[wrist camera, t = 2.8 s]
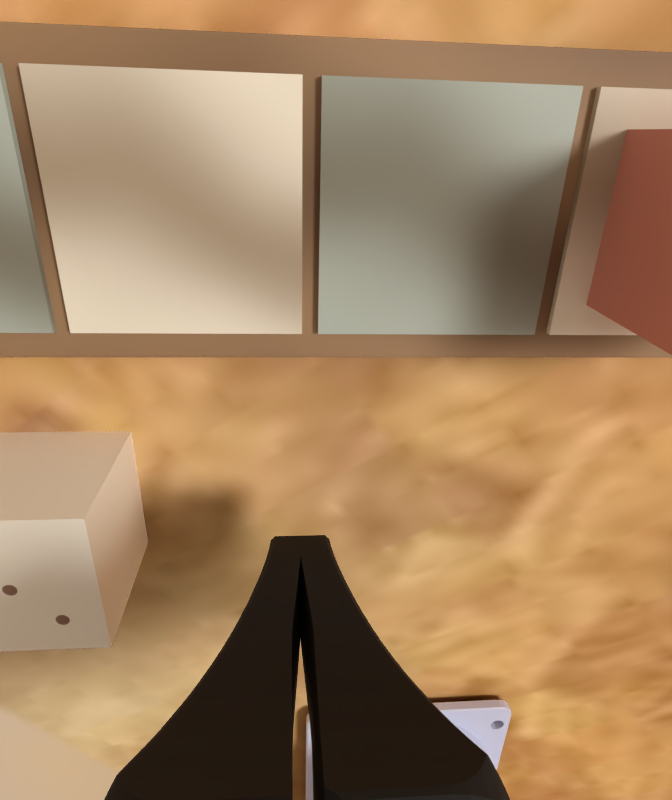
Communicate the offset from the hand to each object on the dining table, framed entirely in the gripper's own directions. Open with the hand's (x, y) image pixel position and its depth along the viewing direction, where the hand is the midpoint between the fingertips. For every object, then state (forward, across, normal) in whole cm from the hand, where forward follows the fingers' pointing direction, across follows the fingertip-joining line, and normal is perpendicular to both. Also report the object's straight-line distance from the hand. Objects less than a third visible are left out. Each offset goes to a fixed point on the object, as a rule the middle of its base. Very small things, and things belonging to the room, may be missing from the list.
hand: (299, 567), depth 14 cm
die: (+3, +7, 0) cm, 8 cm away
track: (+3, 0, -8) cm, 9 cm away
